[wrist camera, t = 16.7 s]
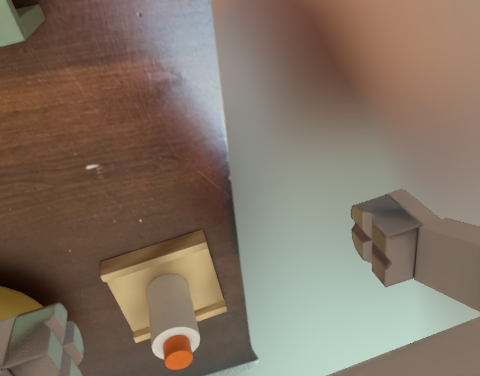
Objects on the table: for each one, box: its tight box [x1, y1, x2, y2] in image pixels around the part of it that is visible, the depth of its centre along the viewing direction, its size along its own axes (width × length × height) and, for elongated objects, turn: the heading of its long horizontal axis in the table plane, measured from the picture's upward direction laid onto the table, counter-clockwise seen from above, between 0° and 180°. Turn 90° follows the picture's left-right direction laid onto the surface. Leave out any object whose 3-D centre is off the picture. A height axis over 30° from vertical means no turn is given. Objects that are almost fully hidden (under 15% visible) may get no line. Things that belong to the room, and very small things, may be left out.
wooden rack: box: [100, 230, 227, 343], centre depth 48 cm, size 12×12×2 cm
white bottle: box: [147, 274, 200, 370], centre depth 44 cm, size 5×5×10 cm
